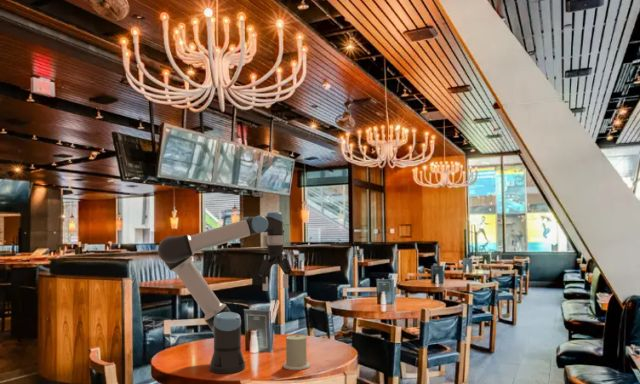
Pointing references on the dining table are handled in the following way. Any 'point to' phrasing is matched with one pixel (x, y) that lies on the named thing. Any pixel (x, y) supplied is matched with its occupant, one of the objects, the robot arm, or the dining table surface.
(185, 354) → the dining table surface
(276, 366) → the dining table surface
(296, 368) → the disc
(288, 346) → the can
